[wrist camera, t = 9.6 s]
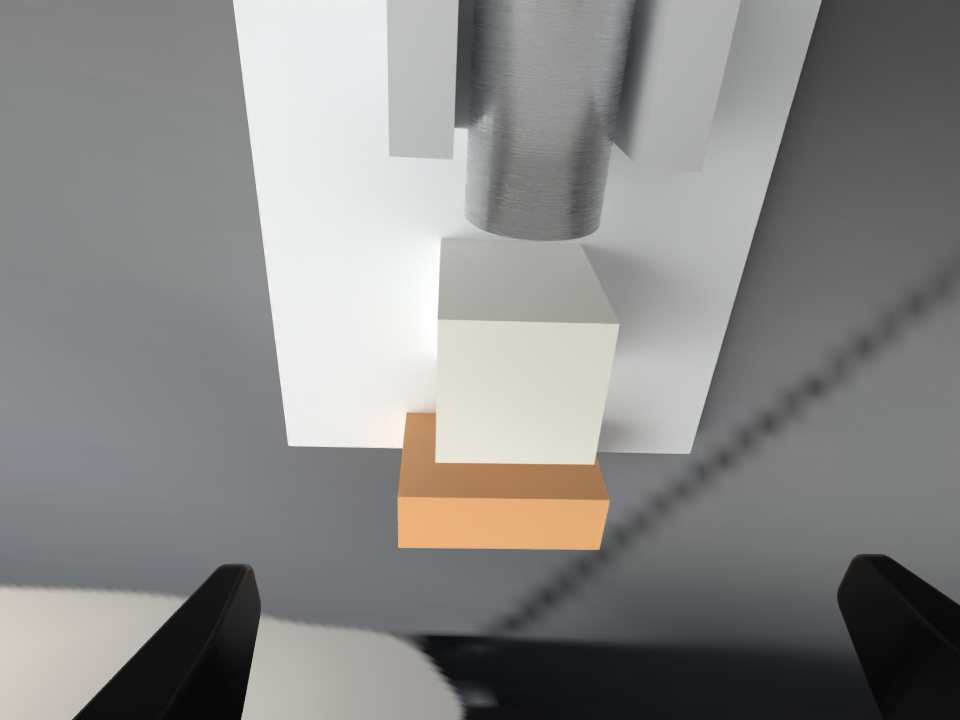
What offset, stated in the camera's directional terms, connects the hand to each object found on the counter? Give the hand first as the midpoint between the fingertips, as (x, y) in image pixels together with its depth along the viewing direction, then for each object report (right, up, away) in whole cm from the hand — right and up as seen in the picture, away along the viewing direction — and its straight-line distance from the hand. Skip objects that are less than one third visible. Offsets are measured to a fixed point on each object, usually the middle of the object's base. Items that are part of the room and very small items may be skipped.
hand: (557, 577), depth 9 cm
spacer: (0, +5, +10) cm, 11 cm away
